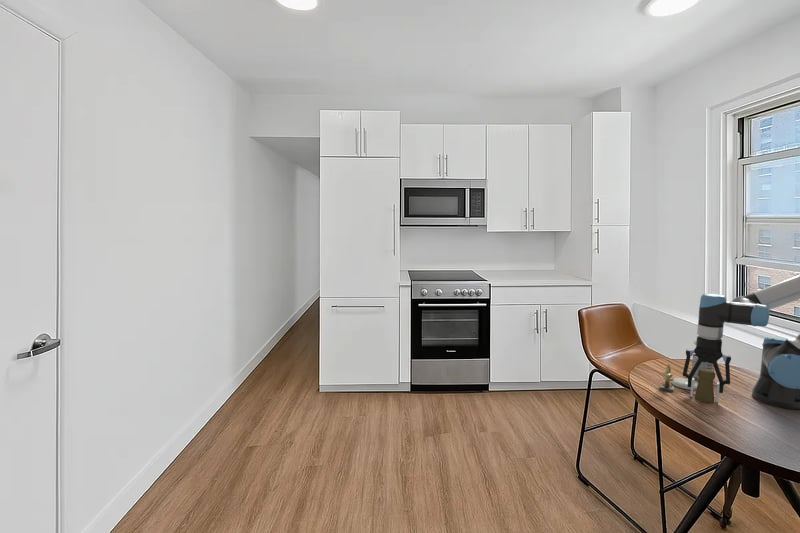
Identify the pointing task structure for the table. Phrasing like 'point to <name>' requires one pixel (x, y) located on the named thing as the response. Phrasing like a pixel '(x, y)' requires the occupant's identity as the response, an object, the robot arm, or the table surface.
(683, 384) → the dish
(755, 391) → the robot arm
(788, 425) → the table surface
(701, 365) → the french press
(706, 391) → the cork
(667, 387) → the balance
